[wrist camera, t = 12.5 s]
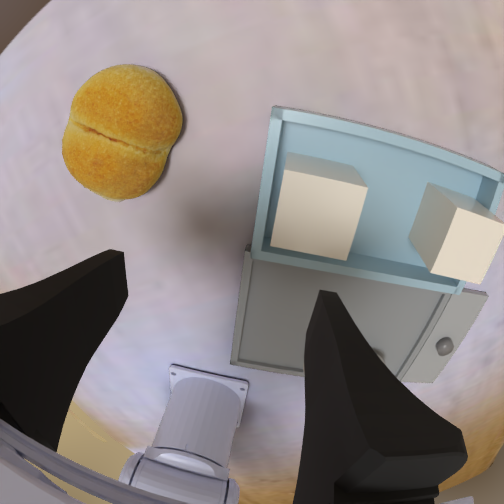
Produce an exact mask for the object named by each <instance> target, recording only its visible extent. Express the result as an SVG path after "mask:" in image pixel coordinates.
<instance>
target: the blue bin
mask: <svg viewBox="0 0 504 504" xmlns="http://www.w3.org/2000/svg"><path fill="white" fill-rule="evenodd" d="M287 152H292V153H297V154H302V155H307V156H312V157H317V158H322V159H326V160H331V161H335V162H340V163H344V164H348V165H352V166H354V168H355V169H356V171H357V172H358V174H359V175H360V177H361V178H362V179H363V181H364V182H365V184H366V185H367V187H368V190H367V194H366V198H365V201H364V205H363V208H362V212H361V215H360V218H359V222H358V225H357V228H356V232H355V235H354V238H353V241H352V245H351V248H350V251H349V254H348V257H347V260H346V261H344V260H339V259H334V258H329V257H324V256H319V255H314V254H309V253H304V252H298V251H293V250H288V249H283V248H278V247H272V246H270V243H271V238H272V233H273V227H274V222H275V216H276V211H277V206H278V200H279V195H280V189H281V184H282V179H283V173H284V168H285V162H286V157H287ZM427 182H430V183H433V184H436V185H439V186H442V187H445V188H448V189H450V190H453V191H456V192H459V193H461V194H464V195H467V196H469V197H472V198H474V199H475V200H477V201H478V202H479V203H481V204H482V205H483V206H484V207H486V208H487V209H488V210H489V211H490V212H492V213H493V214H494V215H495V213H496V210H497V207H498V204H499V201H500V198H501V195H502V192H503V189H504V173H502V172H500V171H498V170H497V169H495V168H493V167H491V166H489V165H487V164H485V163H482V162H480V161H477V160H475V159H472V158H470V157H467V156H465V155H462V154H460V153H457V152H454V151H452V150H449V149H446V148H443V147H441V146H438V145H435V144H432V143H429V142H426V141H423V140H420V139H417V138H414V137H411V136H407V135H404V134H401V133H397V132H394V131H390V130H387V129H383V128H380V127H376V126H372V125H368V124H365V123H361V122H357V121H352V120H348V119H344V118H340V117H335V116H330V115H326V114H321V113H316V112H311V111H305V110H300V109H294V108H289V107H282V106H276V105H275V106H273V107H272V111H271V118H270V125H269V131H268V138H267V145H266V152H265V158H264V165H263V172H262V179H261V186H260V192H259V199H258V206H257V213H256V220H255V226H254V233H253V240H252V247H251V254H250V258H253V259H259V260H264V261H270V262H275V263H281V264H286V265H292V266H297V267H303V268H308V269H314V270H319V271H325V272H331V273H336V274H342V275H347V276H353V277H359V278H364V279H370V280H376V281H381V282H387V283H393V284H399V285H404V286H410V287H416V288H421V289H427V290H433V291H439V292H445V293H450V294H456V295H460V293H461V292H462V290H463V288H464V286H465V284H466V281H463V280H459V279H455V278H450V277H446V276H442V275H437V274H433V273H430V272H429V270H428V268H427V267H426V265H425V263H424V262H423V260H422V258H421V257H420V255H419V253H418V252H417V250H416V248H415V247H414V245H413V244H412V242H411V241H410V239H409V237H408V236H409V233H410V231H411V228H412V225H413V223H414V220H415V217H416V214H417V212H418V209H419V206H420V203H421V200H422V197H423V194H424V191H425V188H426V185H427Z"/></svg>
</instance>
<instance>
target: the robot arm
mask: <svg viewBox="0 0 504 504" xmlns="http://www.w3.org/2000/svg"><path fill="white" fill-rule="evenodd" d="M127 298H128V288H127V279H126V270H125V260H124V252H121V251H116V250H112V249H109V250H107V251H104V252H102V253H99V254H97V255H95V256H93V257H90V258H88V259H86V260H84V261H82V262H80V263H78V264H76V265H74V266H72V267H70V268H68V269H66V270H63V271H61V272H59V273H57V274H55V275H52V276H50V277H48V278H46V279H44V280H41V281H39V282H36V283H34V284H31V285H28V286H25V287H23V288H20V289H17V290H13V291H10V292H6V293H2V294H0V504H85V503H83V502H81V501H79V500H77V499H75V498H73V497H71V496H69V495H68V494H67V492H66V491H64V490H63V489H61V488H60V487H58V486H57V485H56V484H54V483H53V482H52V481H51V480H49V479H48V478H47V477H46V476H45V475H44V474H43V473H42V472H41V471H40V470H38V469H37V468H35V467H34V466H33V465H31V464H30V463H28V462H27V461H26V460H24V458H25V459H27V460H28V461H30V462H31V463H33V464H35V465H36V466H38V467H40V468H41V469H43V470H45V471H47V472H48V473H50V474H52V475H54V476H56V477H57V478H59V479H61V480H63V481H65V482H67V483H69V484H71V485H73V486H75V487H77V488H79V489H81V490H83V491H85V492H87V493H89V494H91V495H94V496H96V497H98V498H101V499H103V500H105V501H108V502H110V503H113V504H238V501H239V486H238V484H237V483H236V481H235V480H234V479H231V478H228V476H229V471H230V469H228V468H227V466H228V462H229V457H230V452H231V448H232V443H233V438H234V433H235V428H238V427H239V426H240V422H241V417H242V413H243V408H244V404H245V399H246V395H247V390H248V385H249V384H248V382H246V381H243V380H237V379H232V378H227V377H223V376H218V375H213V374H209V373H204V372H200V371H196V370H191V369H187V368H183V367H179V366H175V365H171V366H170V367H169V377H170V387H171V397H170V399H169V402H168V404H167V407H166V410H165V412H164V415H163V417H162V420H161V423H160V425H159V428H158V431H157V433H156V436H155V439H154V441H153V444H152V447H150V446H147V448H146V451H145V453H144V454H143V453H140V452H138V453H136V454H134V455H132V456H130V457H129V458H128V460H127V461H126V463H125V465H124V467H123V469H122V471H121V474H120V477H119V480H118V481H117V480H115V479H112V478H109V477H107V476H105V475H102V474H100V473H97V472H95V471H93V470H91V469H89V468H86V467H84V466H82V465H80V464H78V463H76V462H74V461H72V460H70V459H68V458H66V457H64V456H62V455H60V454H58V453H56V452H57V448H58V443H59V439H60V435H61V432H62V428H63V424H64V421H65V418H66V415H67V412H68V409H69V406H70V403H71V401H72V398H73V396H74V393H75V391H76V388H77V386H78V383H79V381H80V379H81V377H82V375H83V373H84V370H85V368H86V366H87V364H88V363H89V361H90V359H91V357H92V356H93V354H94V353H95V351H96V350H97V348H98V347H99V345H100V344H101V342H102V341H103V339H104V338H105V336H106V335H107V333H108V332H109V330H110V328H111V327H112V325H113V324H114V322H115V321H116V319H117V318H118V316H119V314H120V312H121V310H122V308H123V306H124V304H125V302H126V300H127ZM304 374H305V426H304V436H303V445H302V452H301V460H300V467H299V473H298V479H297V485H296V490H295V495H294V500H293V504H434V498H435V497H437V496H438V495H439V489H438V485H439V484H440V483H442V482H443V481H445V480H446V479H448V478H449V477H450V476H452V475H453V474H455V473H456V472H457V471H458V470H460V469H461V468H462V467H463V465H464V464H465V463H466V461H467V458H468V455H467V451H466V447H465V443H464V439H463V435H462V432H461V430H460V429H459V428H457V427H456V426H454V425H453V424H451V423H450V422H448V421H447V420H445V419H444V418H442V417H441V416H439V415H438V414H437V413H435V412H434V411H433V410H432V409H430V408H429V407H428V406H427V405H425V404H424V403H423V402H422V401H421V400H419V399H418V398H417V397H416V396H415V395H414V394H413V393H412V392H411V391H409V390H408V389H407V388H406V387H405V386H404V385H403V384H402V383H401V382H400V381H399V380H398V379H397V378H396V377H395V375H394V374H393V373H392V372H391V371H390V370H389V369H388V368H387V366H386V365H385V364H384V363H383V362H382V361H381V359H380V358H379V357H378V356H377V354H376V353H375V352H374V350H373V349H372V347H371V346H370V345H369V343H368V342H367V341H366V339H365V338H364V336H363V335H362V333H361V332H360V330H359V329H358V327H357V325H356V324H355V322H354V321H353V319H352V317H351V316H350V314H349V312H348V311H347V309H346V307H345V306H344V304H343V302H342V300H341V299H340V297H339V296H338V294H337V292H332V291H326V290H319V293H318V297H317V300H316V303H315V306H314V309H313V312H312V316H311V319H310V322H309V325H308V328H307V331H306V339H305V350H304ZM441 504H474V501H473V497H471V496H469V497H465V498H461V499H457V500H452V501H448V502H445V503H441Z"/></svg>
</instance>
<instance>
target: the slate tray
mask: <svg viewBox="0 0 504 504" xmlns="http://www.w3.org/2000/svg"><path fill="white" fill-rule="evenodd" d="M251 247H252V246H251V245H247V246H246V249H245V254H244V262H243V269H242V276H241V284H240V291H239V299H238V306H237V314H236V321H235V329H234V337H233V344H232V352H231V360H230V364H231V365H236V366H241V367H246V368H252V369H257V370H263V371H269V372H275V373H281V374H287V375H294V376H301V377H305V375H304V372H303V362H304V350H305V339H306V331H307V328H308V325H309V322H310V319H311V316H312V312H313V309H314V306H315V303H316V300H317V297H318V293H319V290H326V291H332V292H337V294H338V296H339V297H340V299H341V300H342V302H343V304H344V306H345V307H346V309H347V311H348V312H349V314H350V316H351V317H352V319H353V321H354V322H355V324H356V325H357V327H358V329H359V330H360V332H361V333H362V335H363V336H364V338H365V339H366V341H367V342H368V343H369V345H370V346H371V347H372V349H373V350H374V352H375V353H376V354H377V355H379V356H380V357H381V358H382V359H383V360H384V361H385V363H386V366H387V368H388V369H389V370H390V371H391V372H392V373H393V374H394V375H395V377H396V378H397V379H398V380H399V381H400V382H414V383H433V382H434V381H435V379H436V378H437V377H438V375H439V374H440V373H441V371H442V370H443V369H444V367H445V366H446V364H447V363H448V361H449V360H450V359H451V357H452V356H453V354H454V353H455V351H456V350H457V348H458V347H459V345H460V344H461V342H462V341H463V339H464V338H465V336H466V334H467V333H468V331H469V330H470V328H471V326H472V325H473V323H474V321H475V320H476V318H477V316H478V314H479V313H480V311H481V309H482V307H483V306H484V304H485V302H486V300H487V298H488V297H489V296H488V295H487V293H486V292H481V291H476V290H470V289H465V288H463V290H462V292H461V293H460V295H456V294H450V293H445V292H439V291H433V290H427V289H421V288H416V287H410V286H404V285H399V284H393V283H387V282H381V281H376V280H370V279H364V278H359V277H353V276H347V275H342V274H336V273H331V272H325V271H319V270H314V269H308V268H303V267H297V266H292V265H286V264H281V263H275V262H270V261H264V260H259V259H253V258H250V254H251Z"/></svg>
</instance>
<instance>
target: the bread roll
mask: <svg viewBox="0 0 504 504" xmlns="http://www.w3.org/2000/svg"><path fill="white" fill-rule="evenodd" d="M182 119H183V118H182V113H181V109H180V106H179V104H178V102H177V100H176V98H175V96H174V94H173V92H172V90H171V88H170V87H169V86H168V84H167V83H166V82H165V81H164V79H163V78H162V77H161V76H160V75H158V74H157V73H156V72H155V71H153V70H151V69H149V68H147V67H143V66H138V65H130V64H124V65H116V66H112V67H109V68H106V69H104V70H102V71H100V72H98V73H97V74H95V75H93V76H92V77H91V78H90V79H89V80H88V81H87V82H85V83H84V84H83V86H82V87H81V88H80V89H79V90H78V91H77V93H76V94H75V96H74V98H73V101H72V105H71V111H70V117H69V121H68V124H67V126H66V129H65V132H64V136H63V139H62V155H63V158H64V162H65V164H66V166H67V168H68V170H69V172H70V174H71V175H72V176H73V177H74V178H75V179H76V180H77V181H78V182H79V183H81V184H82V185H83V186H84V187H85V188H88V189H89V190H90V191H92V192H94V193H96V194H98V195H100V196H102V197H103V198H105V199H107V200H111V201H115V202H121V201H123V200H125V199H132V198H136V197H139V196H141V195H143V194H144V193H146V192H147V191H148V190H149V189H150V188H151V187H152V186H153V185H154V184H155V183H156V181H157V180H158V179H159V177H160V175H161V174H162V172H163V169H164V166H165V163H166V160H167V156H168V154H169V151H170V149H171V147H172V145H173V144H174V143H175V142H176V140H177V138H178V136H179V134H180V131H181V127H182Z"/></svg>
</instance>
